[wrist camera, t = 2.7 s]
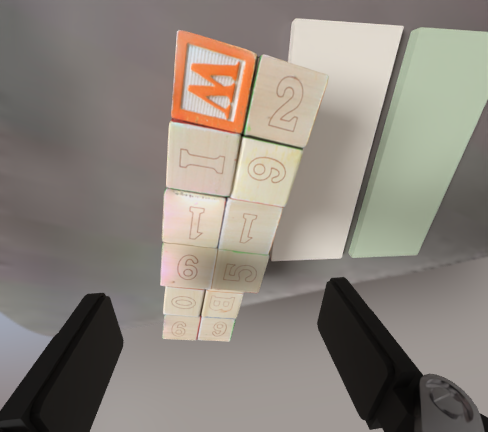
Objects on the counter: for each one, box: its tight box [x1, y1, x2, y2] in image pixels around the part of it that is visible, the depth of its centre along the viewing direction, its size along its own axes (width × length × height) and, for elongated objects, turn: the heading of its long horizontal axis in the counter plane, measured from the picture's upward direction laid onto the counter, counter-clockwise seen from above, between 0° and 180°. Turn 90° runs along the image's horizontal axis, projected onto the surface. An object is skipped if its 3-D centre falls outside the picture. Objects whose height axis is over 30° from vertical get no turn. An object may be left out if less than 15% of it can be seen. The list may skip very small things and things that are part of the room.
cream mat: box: [270, 18, 404, 261], centre depth 23 cm, size 9×23×1 cm, turn 179°
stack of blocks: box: [160, 30, 329, 341], centre depth 18 cm, size 21×6×12 cm, turn 167°
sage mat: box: [349, 27, 488, 258], centre depth 24 cm, size 9×23×1 cm, turn 179°
